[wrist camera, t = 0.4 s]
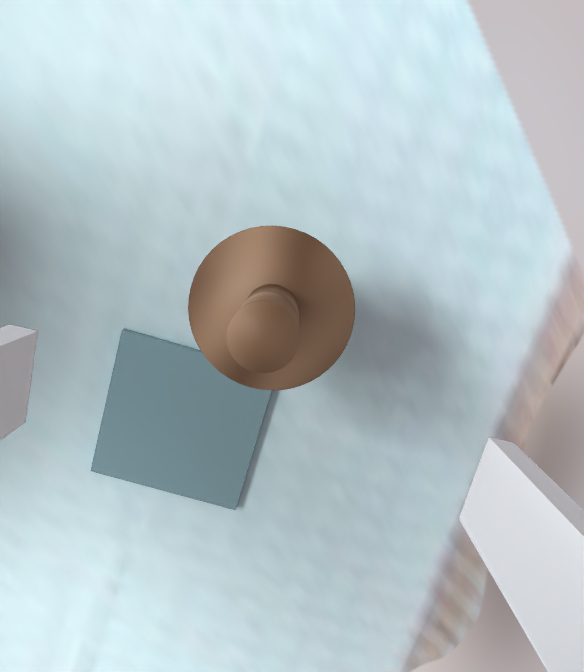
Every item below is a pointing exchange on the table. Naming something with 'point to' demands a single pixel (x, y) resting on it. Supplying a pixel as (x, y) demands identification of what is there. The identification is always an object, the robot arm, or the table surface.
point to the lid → (271, 308)
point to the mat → (177, 422)
